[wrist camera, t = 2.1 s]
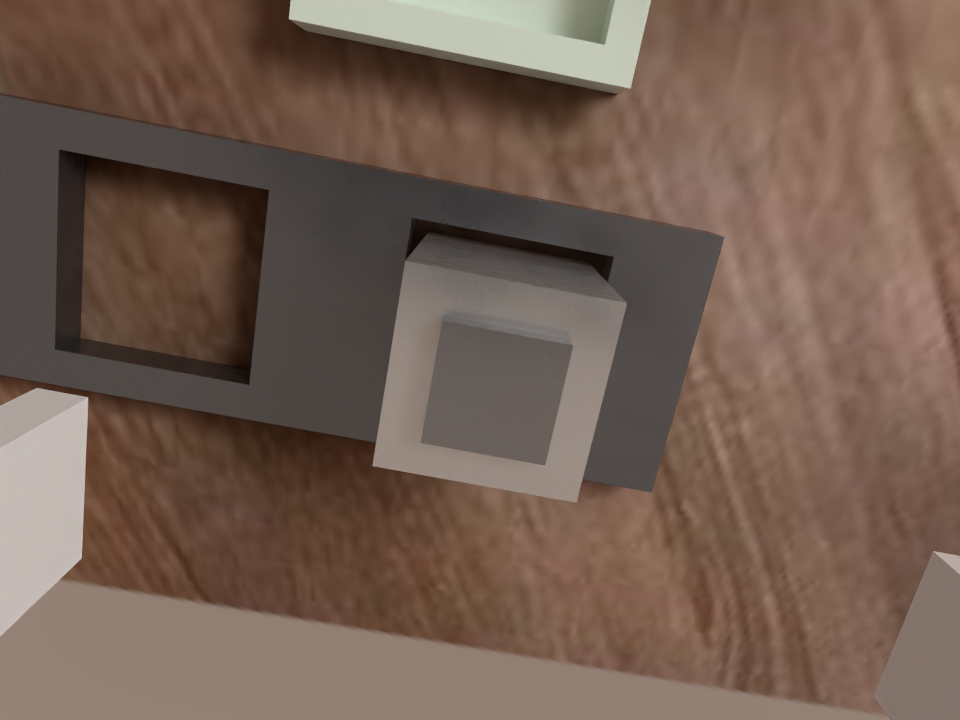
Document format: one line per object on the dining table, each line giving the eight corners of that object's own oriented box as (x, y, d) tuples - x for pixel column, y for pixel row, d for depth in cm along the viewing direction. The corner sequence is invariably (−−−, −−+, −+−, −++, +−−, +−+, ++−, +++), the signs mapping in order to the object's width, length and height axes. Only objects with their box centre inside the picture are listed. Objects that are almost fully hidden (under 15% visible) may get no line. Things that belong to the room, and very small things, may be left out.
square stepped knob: (403, 383, 25) (368, 476, 18) (429, 231, 24) (402, 264, 16) (553, 411, 25) (579, 513, 18) (588, 261, 24) (631, 308, 17)
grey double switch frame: (-13, 354, 25) (-43, 367, 24) (-15, 90, 22) (-50, 85, 21) (642, 473, 26) (651, 492, 24) (709, 232, 23) (724, 236, 22)
